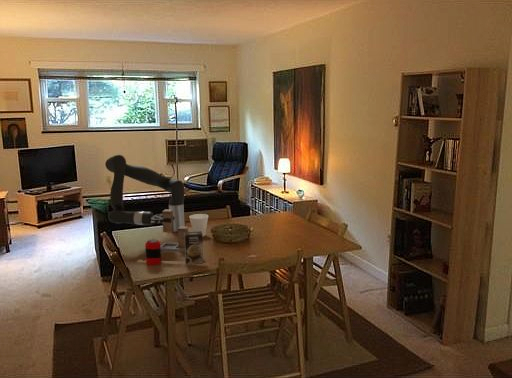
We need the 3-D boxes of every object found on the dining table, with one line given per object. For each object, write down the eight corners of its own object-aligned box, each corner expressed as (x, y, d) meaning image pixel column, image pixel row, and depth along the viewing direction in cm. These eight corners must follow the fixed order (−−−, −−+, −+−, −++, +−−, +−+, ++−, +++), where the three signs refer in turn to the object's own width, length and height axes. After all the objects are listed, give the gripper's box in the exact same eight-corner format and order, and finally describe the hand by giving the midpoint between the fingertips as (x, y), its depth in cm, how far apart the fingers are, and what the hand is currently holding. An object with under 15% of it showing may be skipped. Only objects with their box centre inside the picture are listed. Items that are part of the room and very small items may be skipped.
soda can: (143, 263, 244) (142, 240, 242) (156, 259, 249) (154, 237, 247) (151, 266, 239) (150, 244, 237) (164, 262, 244) (162, 240, 242)
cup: (211, 236, 288) (210, 217, 286) (192, 239, 284) (191, 219, 282) (206, 232, 299) (205, 213, 297) (187, 234, 295) (187, 215, 293)
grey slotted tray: (163, 246, 271) (162, 241, 271) (198, 247, 267) (197, 243, 267) (155, 253, 260) (154, 248, 259) (191, 254, 256) (191, 250, 255)
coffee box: (185, 265, 239) (184, 235, 236) (185, 261, 246) (183, 231, 242) (203, 264, 241) (202, 234, 238) (202, 260, 247) (201, 230, 244)
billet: (166, 230, 265) (165, 209, 262) (173, 230, 264) (172, 209, 262) (163, 232, 260) (162, 211, 258) (170, 232, 260) (170, 211, 257)
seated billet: (181, 246, 265) (180, 226, 263) (189, 247, 264) (188, 226, 262) (178, 249, 261) (177, 228, 258) (186, 249, 260) (185, 228, 258)
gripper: (138, 214, 256) (167, 215, 253) (148, 208, 270) (176, 209, 266) (138, 228, 257) (168, 229, 254) (149, 221, 271) (177, 222, 268)
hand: (172, 219), depth 260 cm, fingers closed on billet, 4 cm apart
